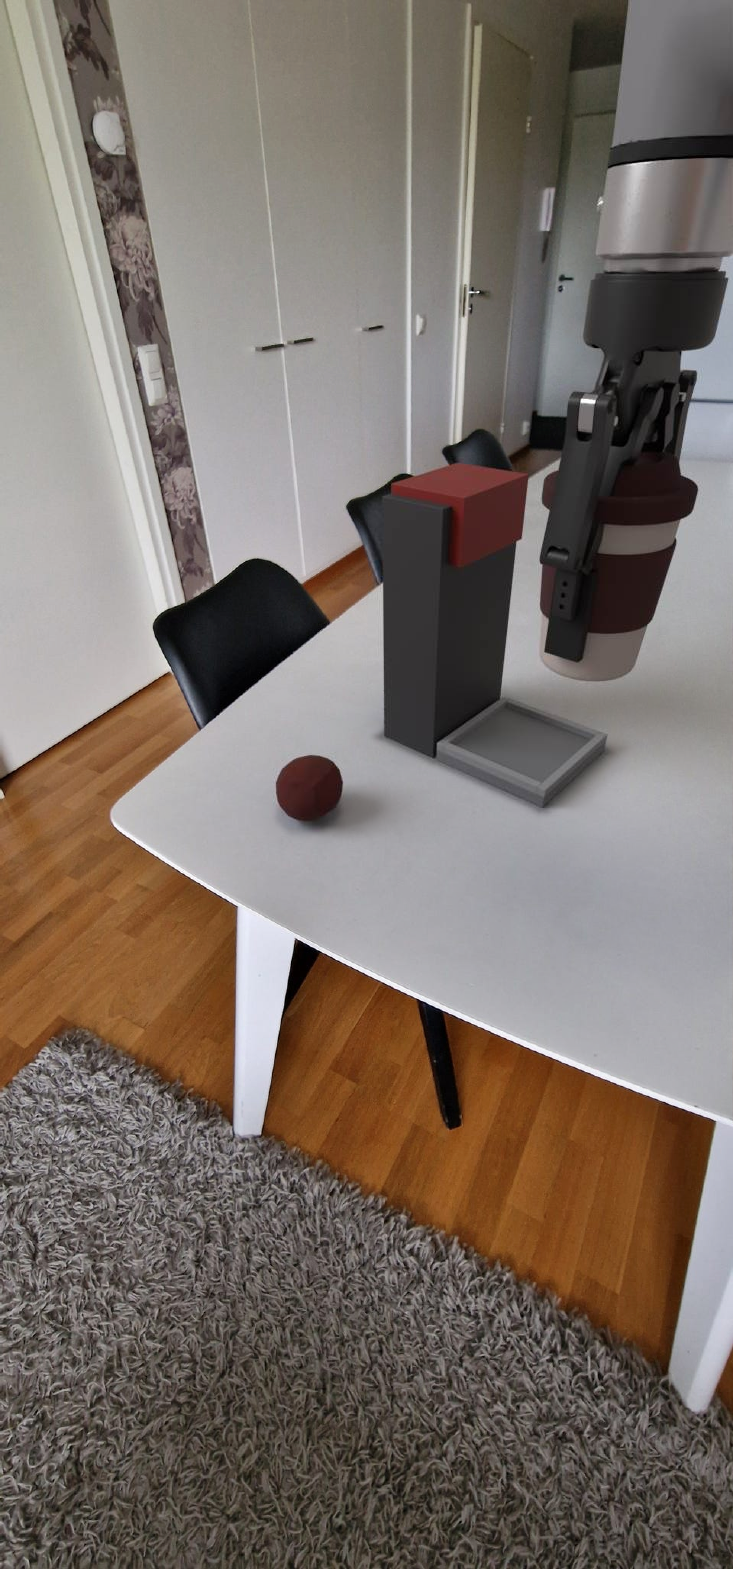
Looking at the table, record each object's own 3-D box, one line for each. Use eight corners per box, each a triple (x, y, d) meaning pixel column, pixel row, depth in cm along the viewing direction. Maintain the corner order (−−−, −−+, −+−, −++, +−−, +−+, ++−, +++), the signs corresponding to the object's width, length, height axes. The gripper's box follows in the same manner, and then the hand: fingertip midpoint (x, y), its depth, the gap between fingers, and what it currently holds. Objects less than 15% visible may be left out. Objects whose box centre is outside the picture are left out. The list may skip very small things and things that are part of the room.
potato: (354, 801, 81) (352, 750, 77) (323, 842, 75) (319, 789, 71) (299, 786, 83) (294, 736, 79) (264, 824, 78) (257, 772, 74)
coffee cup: (671, 692, 51) (731, 472, 42) (534, 694, 51) (565, 475, 42) (630, 634, 59) (673, 438, 50) (512, 636, 59) (534, 441, 50)
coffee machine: (604, 750, 88) (660, 491, 70) (542, 807, 79) (588, 527, 61) (451, 692, 101) (465, 460, 82) (384, 736, 92) (381, 486, 73)
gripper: (668, 263, 48) (607, 583, 62) (505, 271, 36) (473, 671, 49) (785, 262, 44) (692, 604, 58) (648, 270, 32) (570, 705, 45)
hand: (591, 634), depth 54 cm, fingers closed on coffee cup, 8 cm apart
